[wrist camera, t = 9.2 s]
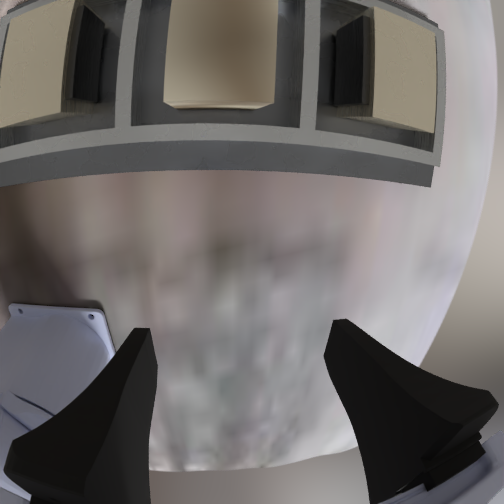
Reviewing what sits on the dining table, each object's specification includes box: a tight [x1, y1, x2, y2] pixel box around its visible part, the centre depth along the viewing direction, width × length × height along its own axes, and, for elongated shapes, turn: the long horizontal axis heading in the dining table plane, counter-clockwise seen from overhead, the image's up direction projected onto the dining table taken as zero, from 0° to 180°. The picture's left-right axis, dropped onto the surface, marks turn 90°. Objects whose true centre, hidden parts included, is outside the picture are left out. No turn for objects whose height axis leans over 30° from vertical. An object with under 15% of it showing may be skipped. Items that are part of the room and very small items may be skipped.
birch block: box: [163, 0, 278, 110], centre depth 10 cm, size 4×6×5 cm, turn 177°
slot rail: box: [0, 0, 446, 187], centre depth 11 cm, size 30×13×5 cm, turn 87°
